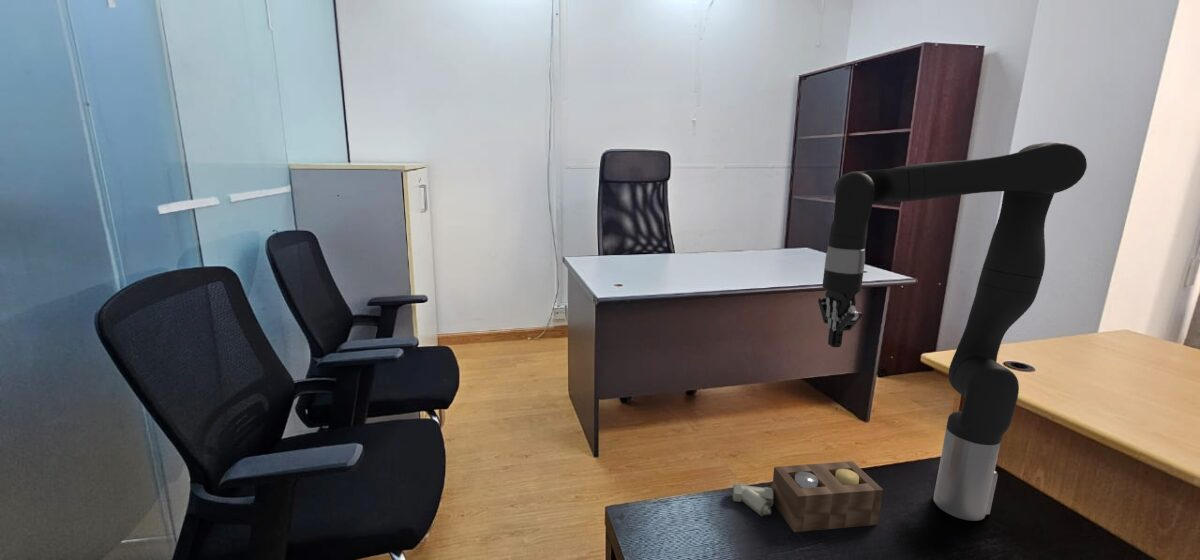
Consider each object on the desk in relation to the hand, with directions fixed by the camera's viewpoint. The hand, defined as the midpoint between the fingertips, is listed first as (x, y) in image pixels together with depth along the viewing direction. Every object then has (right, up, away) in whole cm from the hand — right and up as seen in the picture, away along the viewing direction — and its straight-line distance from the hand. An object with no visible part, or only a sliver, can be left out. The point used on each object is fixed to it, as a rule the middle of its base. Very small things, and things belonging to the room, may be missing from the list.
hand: (834, 345), depth 113 cm
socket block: (-5, -34, -5) cm, 35 cm away
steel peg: (-9, -34, -6) cm, 36 cm away
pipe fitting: (-19, -34, -4) cm, 39 cm away
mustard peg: (0, -34, -5) cm, 34 cm away
